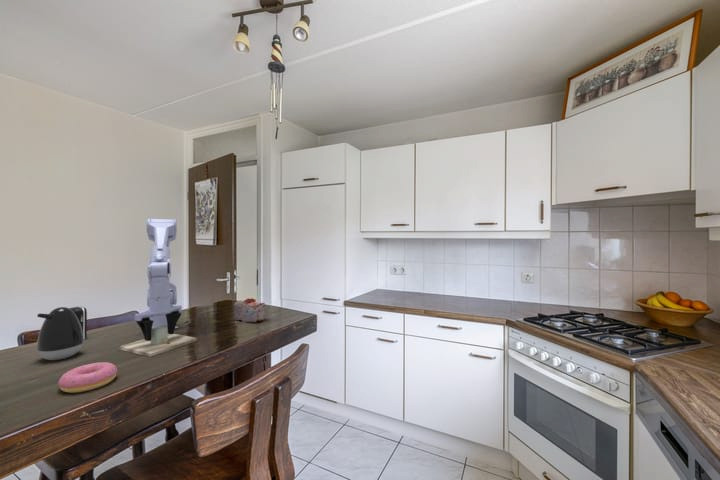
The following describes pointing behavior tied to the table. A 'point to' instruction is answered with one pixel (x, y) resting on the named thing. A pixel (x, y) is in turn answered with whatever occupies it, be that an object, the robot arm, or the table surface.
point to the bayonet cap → (159, 334)
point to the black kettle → (59, 334)
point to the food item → (249, 310)
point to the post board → (157, 345)
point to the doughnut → (87, 377)
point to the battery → (81, 318)
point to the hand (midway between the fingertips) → (159, 336)
